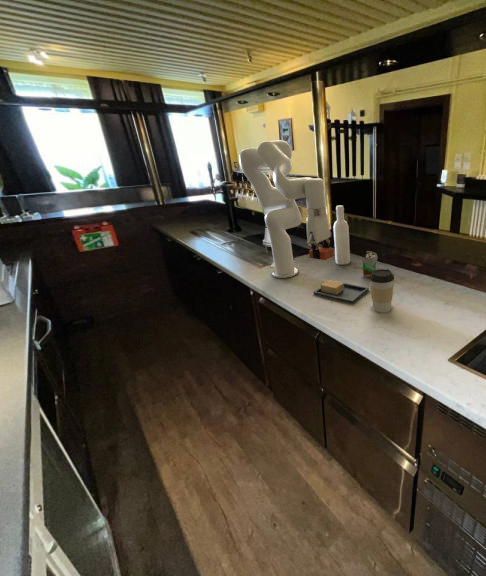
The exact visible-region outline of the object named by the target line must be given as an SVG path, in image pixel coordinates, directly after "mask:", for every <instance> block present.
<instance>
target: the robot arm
mask: <svg viewBox="0 0 486 576" xmlns="http://www.w3.org/2000/svg"><path fill="white" fill-rule="evenodd" d="M292 156H293V151H292V147H291V145H290V144H289V143H288V142H287V141H286V140H283V139H282V140H281V139H277V140H263V141H261V142H260V143H259V144H258V146H257V147H247V148H244V149H242V150H241V151H240V152H239V156H238V161H239V166H240V168H241V171H242V173H243V175H244V176H245V177H246V179H247V180H248V181H249V183H250V185H251V187H252V189H253V191H254V193H255V196H256V198H257V199H258V202H259V204H260V207H262V209H264V210H270V211H268V212H267V213H266V214H265V216H264V222H265V226H266V229H267V232H268V237H269V241H270V247H271V254H272V259H273V262H272V263H271V264H270V266H269V267H270V269H273V271H272V277H274V278H276V279H288V278H292V277H294V276H296V275H298V273H299V270H298V268H296V267H295V263H294V262H295V261H294V255H293V247H292V240H291V237H290V235H289V234H288V233H287V232H286V230H289V229H292V228H296V227H299V226H300V225H301V224H302V222H303V221H302V220H303V217H302V213H301V212H300V209H299V206H298V204H297V202H296V200H299V199H305V202H306V210H307V217H306V237H307V241H306V245H308V246H309V248H310V250H312V251H313V258H315V259H314V260H320V251H319V249H318V247H320V246H319V245H320V243H321V242H322V245H321V247H324V248H330V244H331V242H330V241H331V238H332V236H333V233H332V232H331V227H330V226H331V225H330V221H329V216H328V210H327V199H326V187H325V181H324V179H323V178H320V177H318V178H313V177H309V176H307V177H305V176H304V177H297V178H287V177H286V176H288V175H289V174H290V173H291V171H292V168H293V162H292V160H291V159H292ZM261 168H269V169H270V170H271V171H272V180H273V184H274V186H273V185H272V183H271V181H270V178H269V177H268V175H266V174H265V173H264V172H263V170H260V169H261ZM313 258H312V259H313Z"/></svg>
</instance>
